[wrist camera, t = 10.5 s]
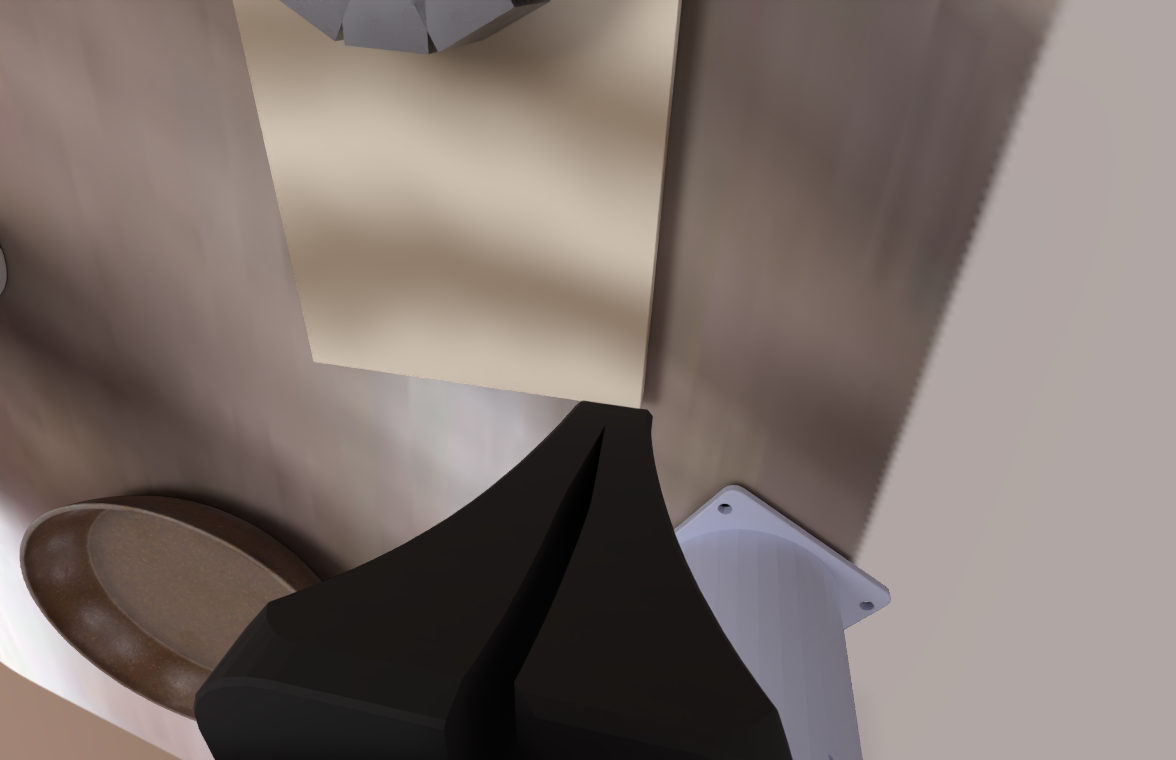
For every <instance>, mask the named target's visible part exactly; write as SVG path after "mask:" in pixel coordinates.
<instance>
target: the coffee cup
mask: <svg viewBox="0 0 1176 760" xmlns="http://www.w3.org/2000/svg"><path fill="white" fill-rule="evenodd" d="M6 280H7V271H6V264H5V260H4V255H3V253H2V250H1V248H0V294H1V293H2V291H3V290H4V288H5V284H6Z"/></svg>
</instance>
